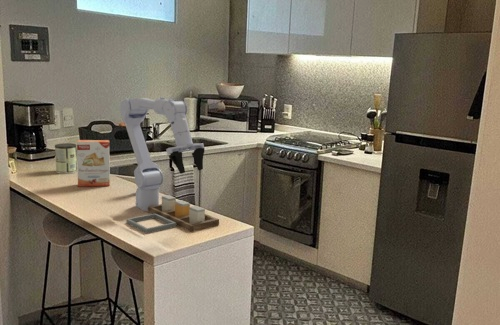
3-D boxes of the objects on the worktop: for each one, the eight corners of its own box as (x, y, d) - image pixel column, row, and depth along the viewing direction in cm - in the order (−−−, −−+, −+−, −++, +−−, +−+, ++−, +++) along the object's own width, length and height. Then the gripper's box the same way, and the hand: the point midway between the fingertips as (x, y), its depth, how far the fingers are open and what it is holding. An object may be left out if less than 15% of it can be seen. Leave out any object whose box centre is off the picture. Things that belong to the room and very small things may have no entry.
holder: (148, 213, 182) (147, 206, 181) (174, 208, 190) (174, 201, 189) (191, 233, 162) (191, 225, 161) (219, 227, 170) (219, 219, 169)
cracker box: (77, 187, 217) (76, 141, 213) (78, 184, 223) (77, 139, 219) (110, 186, 221) (109, 141, 217) (110, 183, 227) (109, 139, 223)
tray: (126, 225, 168) (126, 219, 168) (155, 219, 176) (155, 213, 175) (146, 235, 158) (146, 229, 158) (176, 228, 166) (176, 222, 166)
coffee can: (61, 169, 254) (60, 142, 251) (80, 170, 253) (79, 143, 250) (52, 173, 244) (50, 145, 241) (71, 174, 243) (70, 146, 240)
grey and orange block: (175, 217, 176) (175, 201, 175) (181, 215, 178) (181, 200, 177) (182, 220, 173) (182, 204, 172) (189, 219, 175) (189, 203, 174)
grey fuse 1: (161, 211, 183) (161, 196, 182) (168, 210, 185) (168, 194, 184) (169, 214, 179) (169, 199, 178) (175, 213, 181) (175, 197, 180)
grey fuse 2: (189, 223, 170) (189, 207, 169) (196, 221, 172) (196, 205, 171) (197, 227, 166) (197, 210, 165) (204, 225, 168) (204, 208, 167)
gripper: (170, 132, 160) (180, 171, 159) (204, 128, 170) (214, 165, 168) (159, 138, 165) (169, 176, 164) (194, 134, 175) (203, 170, 173)
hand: (191, 171), depth 166 cm, fingers open, 7 cm apart
